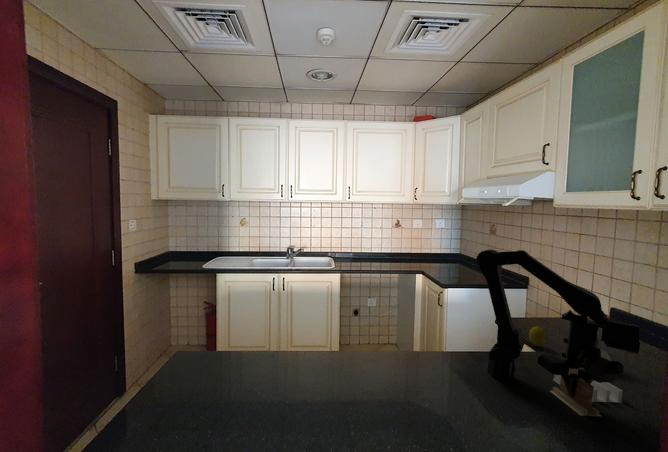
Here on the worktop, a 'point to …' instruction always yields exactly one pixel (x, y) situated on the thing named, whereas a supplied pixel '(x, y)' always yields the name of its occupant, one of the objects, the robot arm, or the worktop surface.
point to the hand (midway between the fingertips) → (574, 396)
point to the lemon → (537, 336)
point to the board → (580, 393)
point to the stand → (574, 404)
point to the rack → (601, 391)
